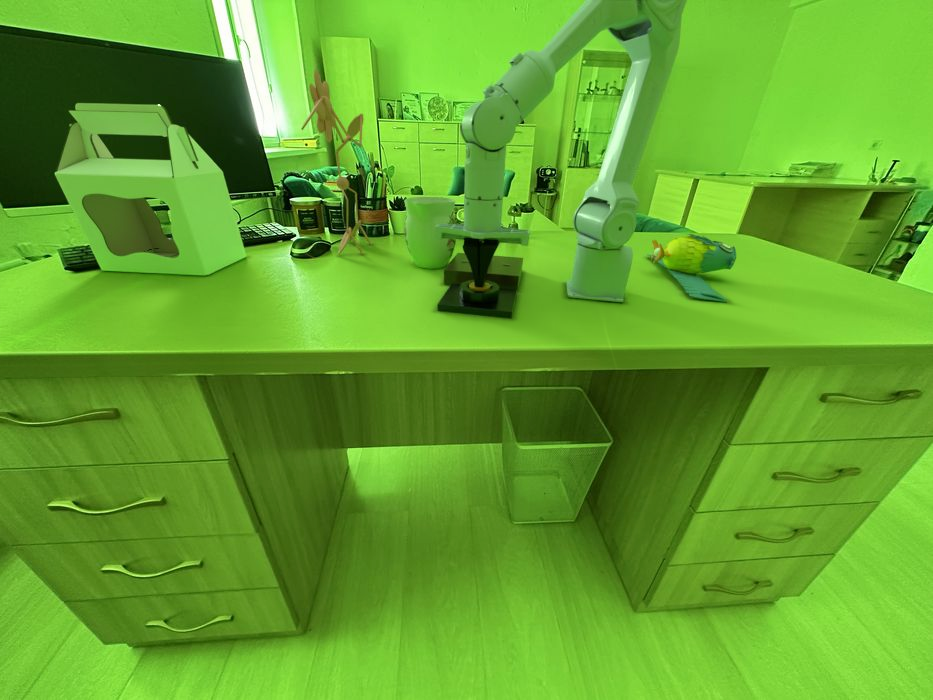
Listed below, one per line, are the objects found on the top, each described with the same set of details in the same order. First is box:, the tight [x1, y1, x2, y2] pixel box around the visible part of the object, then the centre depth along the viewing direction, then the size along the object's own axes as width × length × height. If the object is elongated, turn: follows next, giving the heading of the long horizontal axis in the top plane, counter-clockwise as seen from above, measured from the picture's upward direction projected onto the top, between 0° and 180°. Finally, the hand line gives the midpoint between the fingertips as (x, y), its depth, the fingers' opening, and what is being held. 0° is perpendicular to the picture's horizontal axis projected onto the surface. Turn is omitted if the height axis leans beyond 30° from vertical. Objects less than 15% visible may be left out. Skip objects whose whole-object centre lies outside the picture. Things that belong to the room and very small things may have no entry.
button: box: [469, 282, 491, 291], centre depth 62 cm, size 4×4×2 cm
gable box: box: [54, 102, 247, 277], centre depth 70 cm, size 22×13×28 cm, turn 86°
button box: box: [437, 280, 518, 319], centre depth 62 cm, size 12×10×3 cm
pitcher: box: [403, 196, 457, 270], centre depth 78 cm, size 11×18×14 cm, turn 174°
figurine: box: [300, 69, 379, 259], centre depth 81 cm, size 15×26×35 cm, turn 0°
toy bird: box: [646, 233, 737, 303], centre depth 76 cm, size 28×9×15 cm
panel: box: [443, 252, 524, 292], centre depth 73 cm, size 14×12×3 cm
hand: (479, 285), depth 61 cm, fingers closed, pressing on button
